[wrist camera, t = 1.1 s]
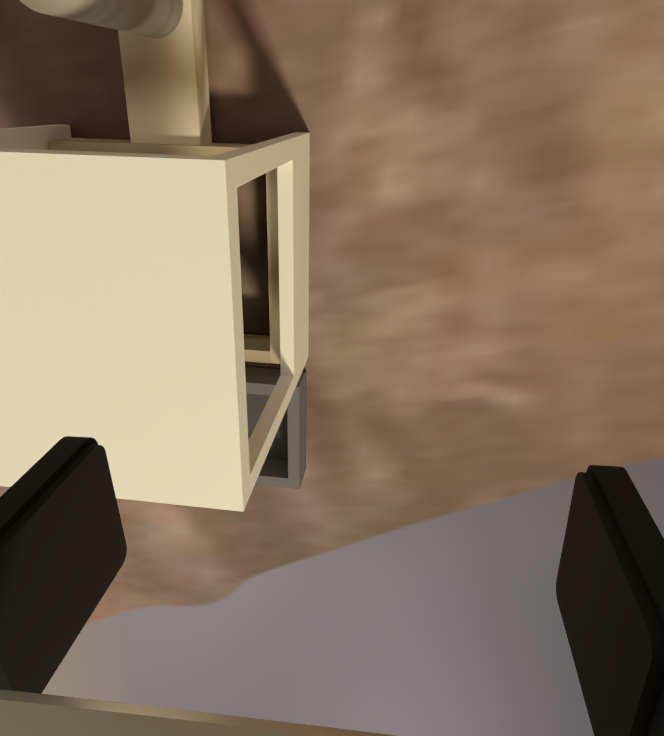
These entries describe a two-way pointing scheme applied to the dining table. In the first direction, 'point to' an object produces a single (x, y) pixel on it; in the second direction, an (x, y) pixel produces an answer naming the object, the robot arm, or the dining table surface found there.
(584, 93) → the dining table surface
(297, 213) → the white open frame box
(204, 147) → the cream frame with post
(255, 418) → the grey shallow rectangular tray
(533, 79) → the dining table surface
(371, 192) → the dining table surface
